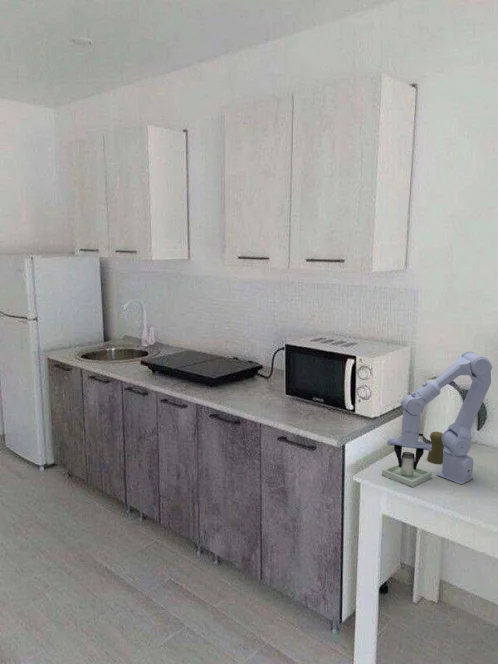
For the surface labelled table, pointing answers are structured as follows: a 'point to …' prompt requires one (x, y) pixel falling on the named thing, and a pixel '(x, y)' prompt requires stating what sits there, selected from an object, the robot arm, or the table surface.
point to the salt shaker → (407, 463)
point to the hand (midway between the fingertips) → (407, 467)
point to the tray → (411, 481)
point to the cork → (436, 448)
